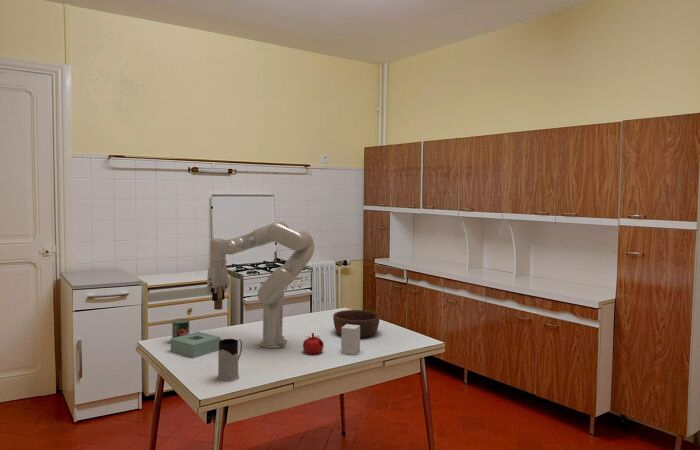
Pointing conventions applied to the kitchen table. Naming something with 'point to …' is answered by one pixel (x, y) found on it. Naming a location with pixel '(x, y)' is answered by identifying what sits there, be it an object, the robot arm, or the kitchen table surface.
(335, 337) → the kitchen table surface
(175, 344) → the socket block
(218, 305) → the walnut peg
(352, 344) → the supplement box
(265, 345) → the robot arm
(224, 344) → the grey pitcher
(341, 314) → the wooden bowl
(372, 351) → the kitchen table surface
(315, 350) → the pomegranate
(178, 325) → the canned tomato
